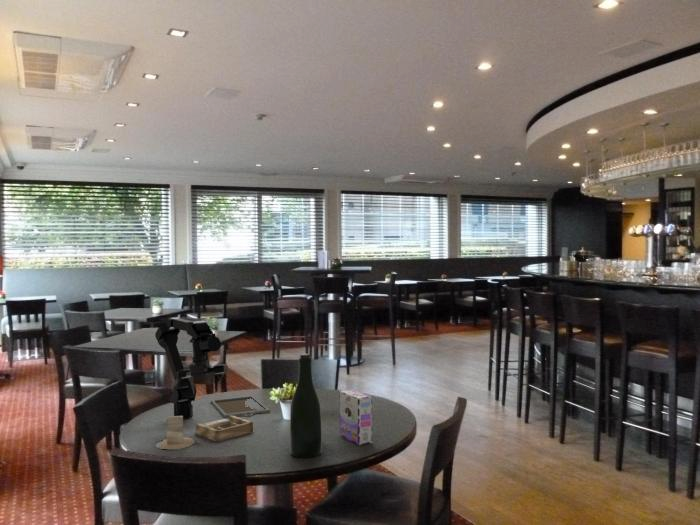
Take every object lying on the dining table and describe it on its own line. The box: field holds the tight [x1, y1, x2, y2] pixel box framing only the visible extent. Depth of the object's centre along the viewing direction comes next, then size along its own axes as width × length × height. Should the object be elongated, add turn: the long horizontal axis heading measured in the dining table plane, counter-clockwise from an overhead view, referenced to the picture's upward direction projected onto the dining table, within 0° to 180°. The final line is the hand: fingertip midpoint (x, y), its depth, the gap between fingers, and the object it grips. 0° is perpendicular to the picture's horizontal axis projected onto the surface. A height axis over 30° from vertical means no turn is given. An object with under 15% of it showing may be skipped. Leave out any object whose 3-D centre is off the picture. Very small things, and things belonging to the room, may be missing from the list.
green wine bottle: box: [289, 353, 323, 459], centre depth 190 cm, size 10×10×33 cm
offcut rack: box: [195, 415, 254, 443], centre depth 213 cm, size 14×16×4 cm
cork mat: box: [157, 436, 195, 450], centre depth 201 cm, size 13×13×1 cm
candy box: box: [339, 388, 373, 446], centre depth 205 cm, size 14×6×16 cm, turn 30°
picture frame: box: [210, 395, 271, 419], centre depth 248 cm, size 19×2×30 cm
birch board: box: [166, 415, 184, 445], centre depth 201 cm, size 3×5×9 cm, turn 102°
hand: (204, 393), depth 223 cm, fingers open, 9 cm apart
